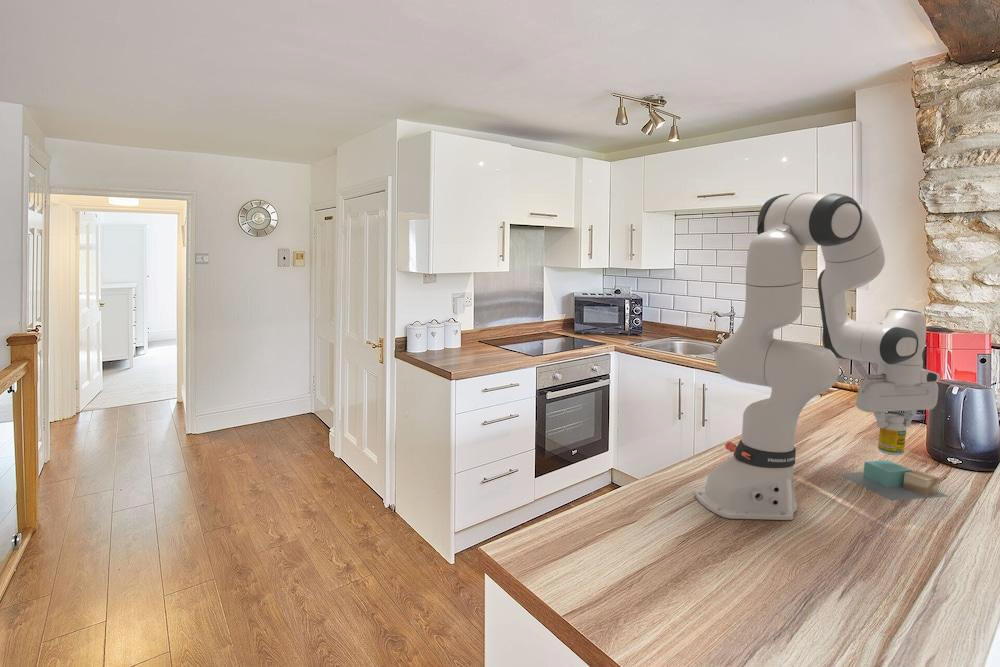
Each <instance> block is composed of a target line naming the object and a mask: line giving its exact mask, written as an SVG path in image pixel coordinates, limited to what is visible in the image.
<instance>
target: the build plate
mask: <svg viewBox="0 0 1000 667" xmlns="http://www.w3.org/2000/svg"><path fill="white" fill-rule="evenodd" d="M863 473H864V471H861V472H846V473H844V472H842V473H838V475H839V476H841V477H843V478H845V479H847V480H849V481H851V482H853V483H855V484H857V485H858V486H859V485H860V486H861V487H863V488H865V489H867V490H869V491H872V492H874V493H875V494H877V495H879V496H881V497H883V498H886V499H888V500H890V501H891V502H892V501H893V502H894V501H907V500H920V499H921V500H922V499H931V498H933V499H934V498H947V497H949V495H947V494H945V493H943V492H942V491H940V490H939V491H938V493H936V494H933V495H929V496H923V495H921V494H918V493H915V492H912V491H910V490H907V489H904V488H903V486H898V487H885V486H883V485H881V484H879V483H877V482H875V481H872V480H870V479H868V478H866V477H864V476H863Z"/></svg>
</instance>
